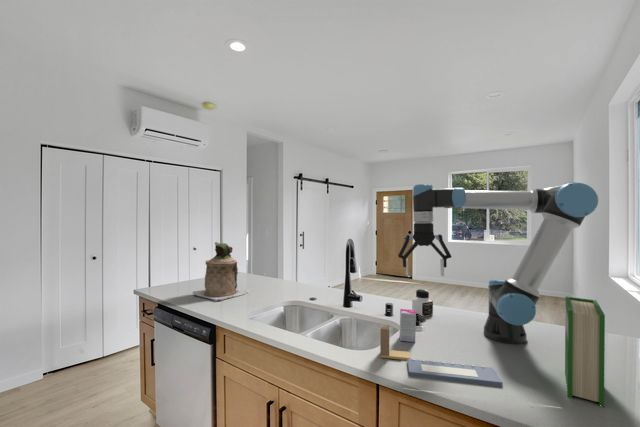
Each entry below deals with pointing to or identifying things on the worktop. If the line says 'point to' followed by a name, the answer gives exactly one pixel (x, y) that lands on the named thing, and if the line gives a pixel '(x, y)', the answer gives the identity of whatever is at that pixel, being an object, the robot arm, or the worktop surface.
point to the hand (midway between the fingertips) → (424, 275)
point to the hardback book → (584, 349)
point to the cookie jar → (221, 276)
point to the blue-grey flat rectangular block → (454, 372)
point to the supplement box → (407, 325)
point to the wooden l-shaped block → (385, 346)
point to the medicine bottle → (422, 303)
